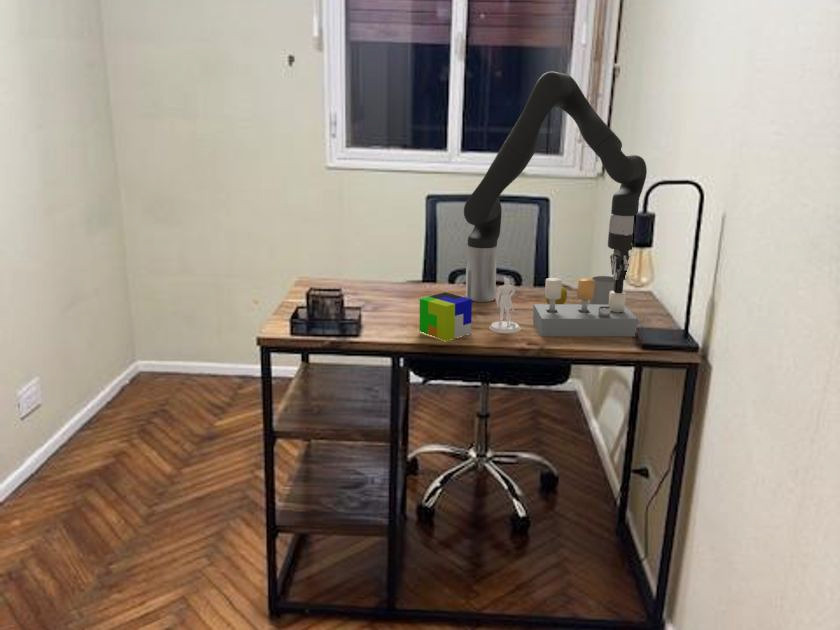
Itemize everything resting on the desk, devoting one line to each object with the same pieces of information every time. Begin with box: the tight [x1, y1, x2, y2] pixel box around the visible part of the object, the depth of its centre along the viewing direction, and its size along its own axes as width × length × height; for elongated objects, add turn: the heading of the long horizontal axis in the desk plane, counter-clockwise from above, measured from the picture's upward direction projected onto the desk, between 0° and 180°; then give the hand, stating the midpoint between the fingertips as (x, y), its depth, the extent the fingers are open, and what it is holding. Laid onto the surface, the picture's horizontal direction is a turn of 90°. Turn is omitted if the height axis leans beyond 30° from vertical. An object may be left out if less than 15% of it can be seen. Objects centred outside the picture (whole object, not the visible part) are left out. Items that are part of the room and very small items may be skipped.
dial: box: [598, 306, 611, 318], centre depth 206 cm, size 3×3×3 cm
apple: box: [545, 285, 568, 304], centre depth 230 cm, size 6×6×8 cm
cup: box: [589, 275, 614, 304], centre depth 228 cm, size 8×8×10 cm
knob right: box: [609, 290, 627, 313], centre depth 211 cm, size 4×4×9 cm
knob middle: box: [576, 277, 595, 312], centre depth 210 cm, size 4×4×9 cm
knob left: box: [544, 277, 563, 312], centre depth 210 cm, size 4×4×9 cm
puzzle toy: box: [419, 291, 473, 341], centre depth 206 cm, size 10×10×10 cm
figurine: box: [488, 276, 521, 334], centre depth 210 cm, size 9×9×15 cm
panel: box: [532, 303, 638, 337], centre depth 212 cm, size 26×14×5 cm, turn 91°
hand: (617, 292), depth 210 cm, fingers closed
